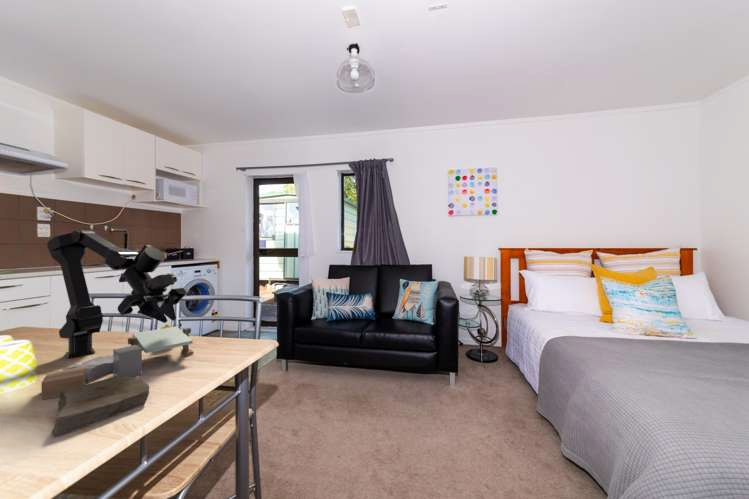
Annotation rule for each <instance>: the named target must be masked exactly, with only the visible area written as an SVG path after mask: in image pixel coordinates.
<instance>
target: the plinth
mask: <svg viewBox="0 0 749 499" xmlns="http://www.w3.org/2000/svg"><path fill="white" fill-rule="evenodd" d="M86 383H87V382H86V367H80V368H74V369H68V370H63V369H61V370H57V371H52V372H47V373H46V375H45V377H43V380H42V381H41V401H43V400H48V399H53V398H60V393H61V392H62V391H63V390H67V389H70V388H74V387H78V386H82V385H86Z"/></svg>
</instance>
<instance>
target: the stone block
mask: <svg viewBox="0 0 749 499" xmlns="http://www.w3.org/2000/svg"><path fill="white" fill-rule="evenodd" d="M80 367H86V383H87V382H91V381H94V380H96V379H99V378H101V377H104V376H106V375H109V374H110V373H113V354H112V355H111V354H109V355H104V356H98V357H95V358H91V359H89V360H87V361H84V362H82V363H80V364H75V365H72V366H68V367H65V368H63V369H62V370H68V369H74V368H80Z"/></svg>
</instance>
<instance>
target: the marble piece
mask: <svg viewBox="0 0 749 499" xmlns="http://www.w3.org/2000/svg"><path fill="white" fill-rule="evenodd" d="M149 395H150V386H149V384H148V383H146V381H144V380H143V379H141V378H139V377H127V376H114V377H113V376H111V377H107V378H104V379H101V380H97V381H94V382H91V383H87V384H86V383H85V385H82V386H78V387H74V388H70V389H67V390H63V391H62V392H61V393H60V396H59V400H58V413H57V417H56V418H55V423H54V425H53V428H52V432H51V434H52V435H53V436H54V437H61V436H64V435H67V434H68V433H71V432H76V431H77V430H80V429H83V428H85V427H88V426H91V425H93V424H96V423H99V422H102V421H105V420H108V419H110V418H112V417H116V416H118V415H121V414H123V413H126V412H128V411H131V410H134V409H138V408H140V407H142V406H145V405H146V404H145V403H146V402H147V400H148V397H149Z"/></svg>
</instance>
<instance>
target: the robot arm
mask: <svg viewBox="0 0 749 499" xmlns="http://www.w3.org/2000/svg"><path fill="white" fill-rule="evenodd" d="M46 246H47V249H48V251H49V254H50V257H51V258H52V259H53V260H54V261H56V262H57V263H58V264H59V265H60V269H61V272H62V276H63V281H64V285H65V289H66V294H67V297H68V302H69V306H70V308H69V309H68V311H67V314H66V315H65V320H66V322H65V323H64V324H63V325H62V327H61V328H59V330H58V335H59V338H60V339H67V341H68V345H67V346H68V349H67V351H66V352H65V356H66V358H68V359H70V358H75V357H81V356H86V355H91V354H95V353H96V351H95V349H94V348H93V334H96V333H100V332H101V329H102V325H103V321H104V315H103V313H102V307H101V306H100V305H99V304H97V305H95V304H94V303H93V302H92V301H91V297H90V294H89V288H88V286H87V281H86V280H87V279H86V276H85V273H84V269H83V265H82V259H83V258H84V256H85V254H86V249H88V250H91V251H93V252H94V253H95V254H97V255H99V256H100V257H102V258H103V259H104V263H105V264H106V266H108V267H109V268H110V269H111V270H113V271H121V270H123V271H124V270H125V271H124V272H123V273H120V277H119V279H118V282H119V283H127V284H128V285H129V287H130V288H131V289H132V290H131V292H130V293H131V294H128V295H126V296H125V297H124V298H123V300H122V301H121V302H120V303H119V304H118V306H117V311H118V313H119V314H120V315H121V316H124V315H130V314H132V313H133V311H134V309H133V307H138V309H139V310H138V311H137V314H138V315H144V316H146V317H149V318H152V319H155V320H157V321H159V322H161V323H164V324H165V323H166V324H167V322H168V321H169V320H168V319H170V320H171V321H176V320H177V316H176V311H175V307H174V305H177V304H179V302H181V301H182V300H183V298H184V297H185V296H186V294H188V292H187V290H185V288H184V287H177V288H170V290H169V291H168V293H165V292H166V291H167V290H168V287H170V286H172V285H175V283H176V282H177V281H178V278H177V276H176V274H174V273H173V272H168V273H167V274H166V273H165V274H158V275H155V276H154V277H152V276H151V275H150V274H149V273H153V272H155V271H156V269H158V268H159V266H160V265H161V264H162V262H163V261H164V260H165V258H166V255H165V253H164V252H163V251H161V250H160V249H158V248H156V247H153V246H152V245H150V244H144V246H142V248H141V250H140V251H139V253H138V252H137V251H135V250H131V249H128V248H123V247H119V246H117V245H116V244H113V242H110V241H109V240H107V239H105V238H104V237H102V236H100V235H98V234H97V233H96V232H95V231H93V230H88V229H87V230H86V229H85V230H84V229H77V230H73V231H72V232H70V233H64V234H60V235H57V236H53V237H51V239H49V240H48V241H47V244H46Z"/></svg>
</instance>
